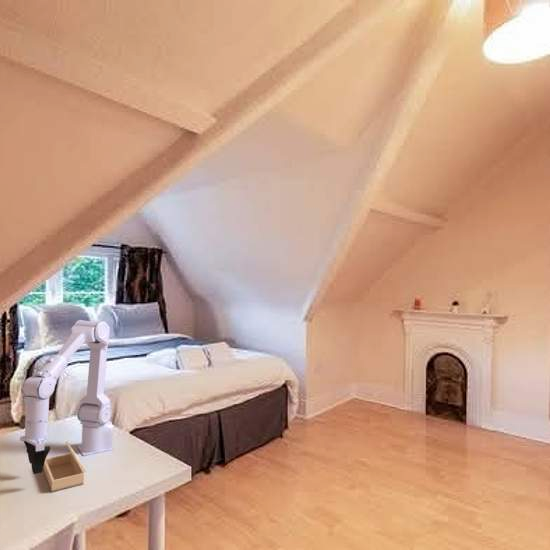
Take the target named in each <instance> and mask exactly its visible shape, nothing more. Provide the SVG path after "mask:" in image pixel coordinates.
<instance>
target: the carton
mask: <svg viewBox="0 0 550 550" xmlns="http://www.w3.org/2000/svg"><path fill="white" fill-rule="evenodd" d="M42 472H43V473H44V476H45V478H46V481H47V484H48V486H49V489H50V491H51V493H56V492H58V491H59V492H60V491H63V490H66V489H70V488H74V487H80V486H83V485H84V484H85V483H84V482H85V481H84V480H85V479H84V478H85V472H83V470H82V469H81V467H80V466H79V464H78V463H77V462H76V460H75V458H74V456H73V455H72V453H71V452H70V453H66V454H63V455H57V456H53V457H48V458H47V457H46V459H45V463H44V467H43V470H42Z"/></svg>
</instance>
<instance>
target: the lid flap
mask: <svg viewBox="0 0 550 550" xmlns="http://www.w3.org/2000/svg"><path fill="white" fill-rule="evenodd" d="M65 444H66V446H67V447H68V450H69V451H70V454H71V453H72V455H73V456H74V458H75V460H76V462H77V463H78V465H79V466H80V468H81V470H82V472H83V473H86V469H85V468H84V466H83V464H82V463H81V460H80V458H79V457H78V455H77V454H76V452H75V451H74V449H73V448H72V446H71V444H70V443H69V442H68V441H66V442H65Z"/></svg>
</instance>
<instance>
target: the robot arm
mask: <svg viewBox="0 0 550 550" xmlns="http://www.w3.org/2000/svg"><path fill="white" fill-rule="evenodd" d="M70 329H71V330H70V335H69V337H68V338H67V340H66V341H65V343H64V344H63V345H62V346H61V348H60V349H59V351H58V352H57V354H56V355H50V356H49V357H47V359H46V361H45V362H44V363H43V364H42V365H41V367H40V368H39V369H38V370H37V372H36V373H35V374H34V375H33V376H30V377H28V378H27V379H25V380H24V381H23V384H22V387H21V388H20V394H21V395H22V397H23V403H25V417H24V419H25V422H24V424H25V425H24V435H22V436H20V437H19V441H20V442H23V443H24V445H25V447H26V453H27V458H28V462H29V464H30V465H31V470H32V471H31V472H32V474H33V475H37V474H41V473H43V467H44V463H45V459H47V457H48V455H49V454H50V453H49V452H51V446H50V445H48V446H45V443H46V441H47V440H48V438H49V436H50V433H49V418H50V417H49V415H50V414H49V413H50V411H49V410H50V409H49V408H50V397H51V396H52V395H53V393H54V391H55V389H56V385H57V382H58V379H59V378H60V377H61V375H62V374H63V373H64V371H66V369H67V367H68V360H70V359H71V357H72V356H74V354H75V353H76V352H77V351H78V350H79V348H81V346H82V345H84V344H86V345H87V346H88V347H89V349H90V351H89V362H88V373H87V376H88V377H87V387H86V395H84V396H83V397H81V399H80V400H79V404H78V405H79V406H78V408H77V411H76V418H77V420H78V421H80V425H82V426H81V430H82V431H81V445H79V446H77V447H78V450H79V451H80V453H81V455H82V456H83V457H86V456H90V455H94V454H95V455H96V454H99V453H103V452H109V451H112V450H114V447H113V446H114V445H113V444H114V443H113V441H114V440H113V439H114V426H113V423H112V421H111V420H110V419H111V417H112V405H111V399H109V397H108V396H107V395H106V394H105V383H106V372H107V371H106V370H107V357H108V345H109V343H110V341H109V340H110V332H111V331H110V329H111V328H110V326H109V325H108V323H107V322H105V321H102V320H101V321H95V320H83V319H78V320H77V321H76V322H75V323H74V324H73V326H71V328H70Z"/></svg>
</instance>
